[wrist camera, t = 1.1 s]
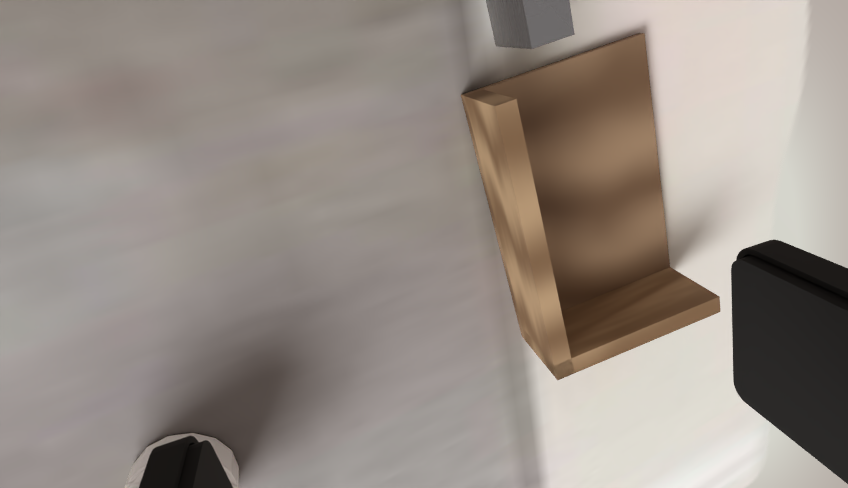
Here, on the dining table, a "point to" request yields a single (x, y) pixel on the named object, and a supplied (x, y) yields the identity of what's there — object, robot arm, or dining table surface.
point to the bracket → (529, 22)
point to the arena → (582, 206)
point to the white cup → (220, 449)
